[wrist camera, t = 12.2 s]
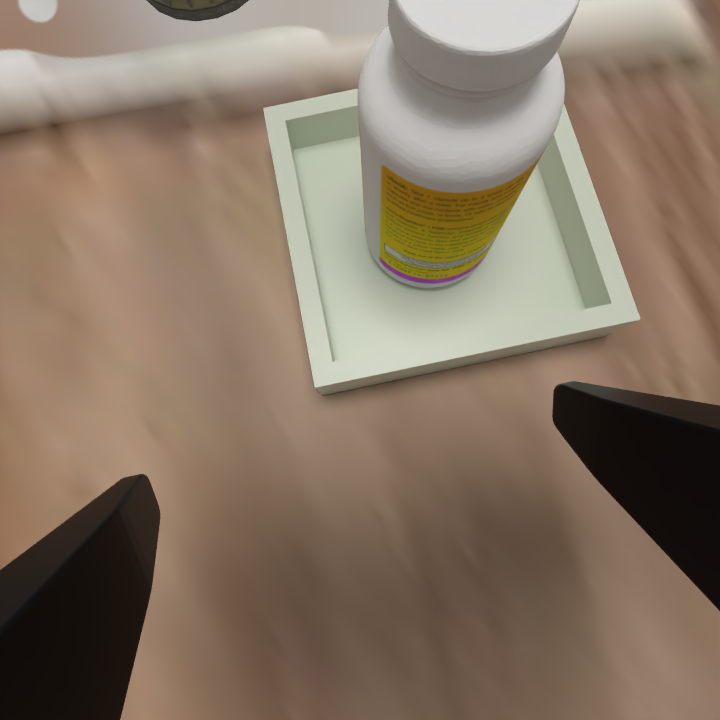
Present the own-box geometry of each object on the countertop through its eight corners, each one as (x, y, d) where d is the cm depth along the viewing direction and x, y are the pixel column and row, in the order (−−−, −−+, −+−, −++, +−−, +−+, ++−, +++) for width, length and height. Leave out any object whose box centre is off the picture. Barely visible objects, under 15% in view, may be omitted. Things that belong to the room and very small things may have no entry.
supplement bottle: (510, 265, 22) (682, 33, 10) (392, 310, 22) (412, 131, 10) (458, 160, 24) (551, -164, 11) (347, 201, 23) (312, -82, 11)
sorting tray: (525, 95, 25) (544, 49, 22) (605, 336, 22) (640, 319, 19) (276, 147, 25) (263, 108, 22) (322, 395, 22) (314, 387, 19)
